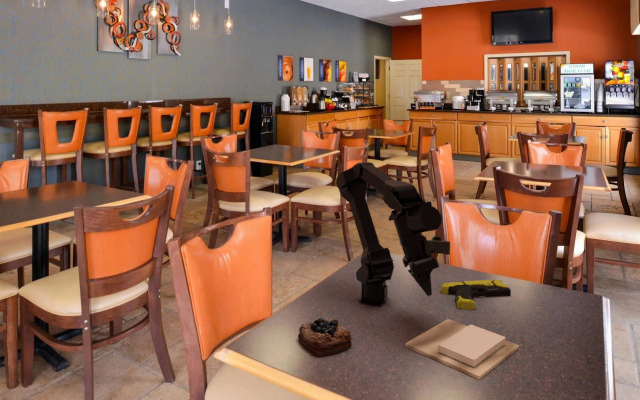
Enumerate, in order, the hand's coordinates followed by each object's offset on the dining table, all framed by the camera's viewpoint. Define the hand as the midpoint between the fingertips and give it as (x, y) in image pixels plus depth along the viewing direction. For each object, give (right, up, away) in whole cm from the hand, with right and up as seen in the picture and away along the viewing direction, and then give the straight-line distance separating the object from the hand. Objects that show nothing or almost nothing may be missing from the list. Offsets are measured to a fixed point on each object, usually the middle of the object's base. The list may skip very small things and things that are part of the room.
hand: (429, 295), depth 123 cm
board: (+6, -11, -7) cm, 14 cm away
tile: (+5, -9, -6) cm, 11 cm away
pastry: (-26, -11, -3) cm, 28 cm away
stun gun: (+19, -5, +21) cm, 28 cm away
